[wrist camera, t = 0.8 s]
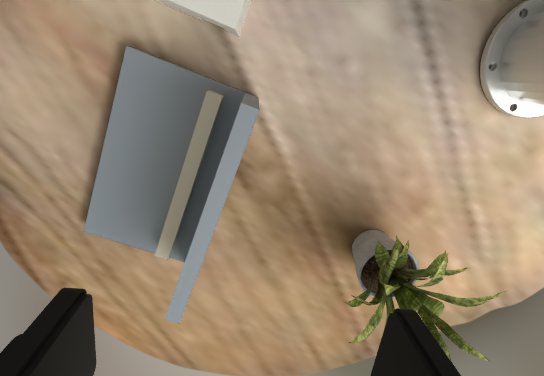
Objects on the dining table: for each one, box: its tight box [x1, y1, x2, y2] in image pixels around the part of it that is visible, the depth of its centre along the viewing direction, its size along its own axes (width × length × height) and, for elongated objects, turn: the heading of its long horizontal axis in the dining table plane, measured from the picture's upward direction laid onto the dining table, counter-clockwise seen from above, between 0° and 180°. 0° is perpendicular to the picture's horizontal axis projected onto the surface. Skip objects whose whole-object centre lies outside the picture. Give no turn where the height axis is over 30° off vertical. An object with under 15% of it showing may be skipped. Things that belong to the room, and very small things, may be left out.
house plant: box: [343, 230, 506, 361], centre depth 36 cm, size 14×14×16 cm
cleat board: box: [84, 46, 259, 324], centre depth 33 cm, size 22×14×12 cm, turn 158°
